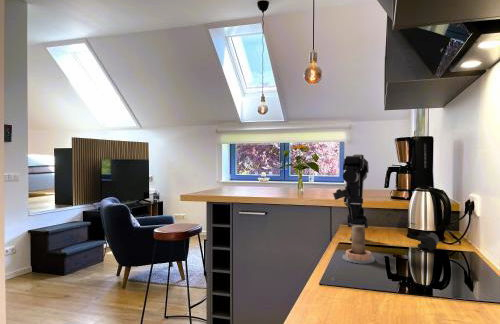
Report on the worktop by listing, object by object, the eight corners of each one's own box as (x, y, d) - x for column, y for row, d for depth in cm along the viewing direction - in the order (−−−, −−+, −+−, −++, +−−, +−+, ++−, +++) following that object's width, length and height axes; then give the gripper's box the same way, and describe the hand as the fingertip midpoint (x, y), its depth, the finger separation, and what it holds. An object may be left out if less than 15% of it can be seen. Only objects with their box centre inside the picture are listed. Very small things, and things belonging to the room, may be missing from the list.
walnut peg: (356, 254, 141) (356, 224, 141) (367, 257, 137) (367, 226, 137) (349, 256, 138) (349, 226, 138) (360, 259, 134) (360, 228, 134)
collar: (344, 253, 145) (344, 247, 145) (375, 256, 141) (375, 249, 141) (340, 261, 134) (340, 254, 134) (373, 265, 130) (373, 257, 130)
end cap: (436, 253, 145) (436, 237, 145) (417, 251, 149) (417, 235, 149) (438, 248, 153) (438, 232, 153) (421, 246, 157) (421, 231, 157)
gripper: (332, 184, 165) (332, 217, 164) (335, 182, 147) (335, 220, 146) (357, 185, 164) (356, 218, 162) (363, 183, 145) (363, 221, 144)
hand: (352, 219), depth 154 cm, fingers open, 9 cm apart
